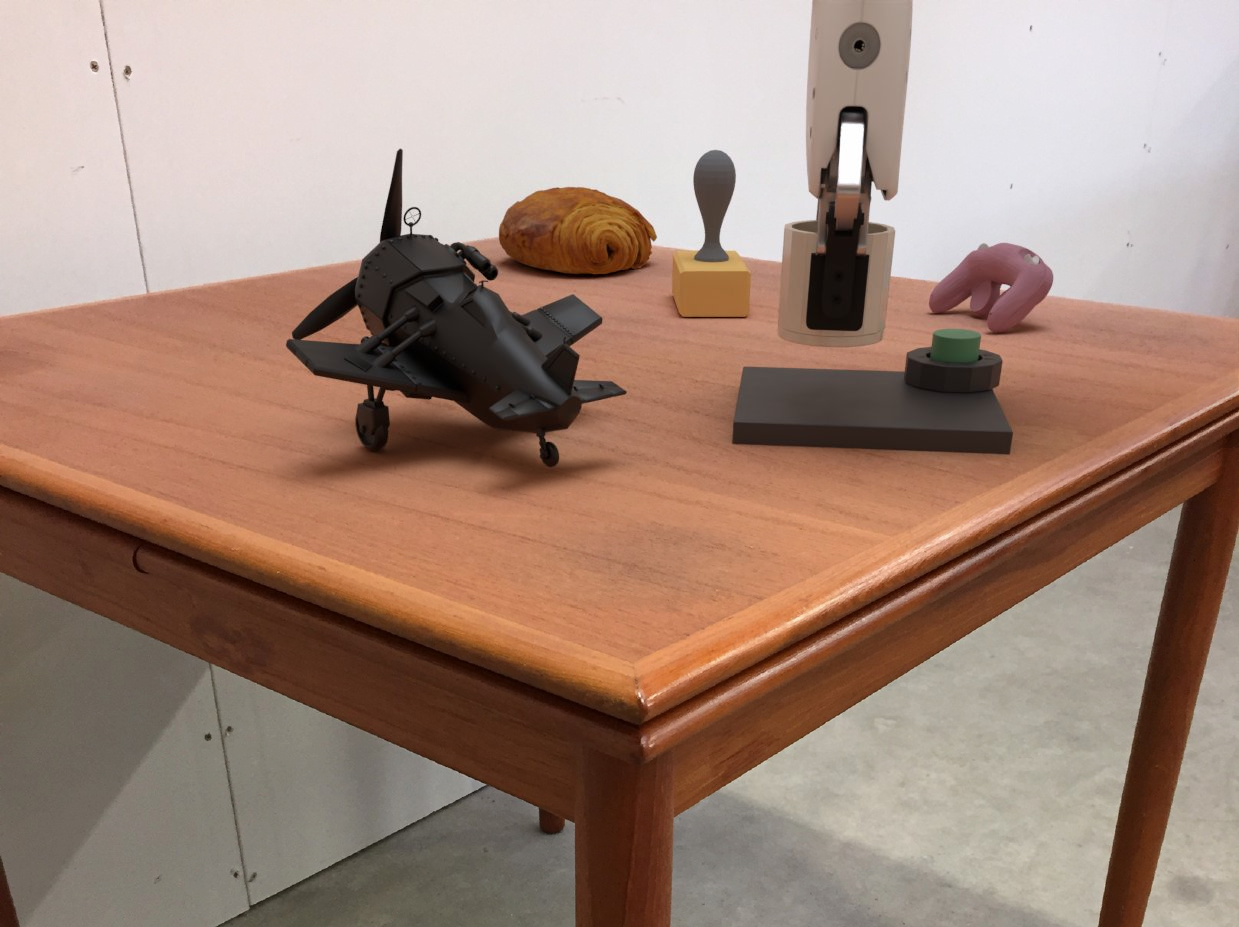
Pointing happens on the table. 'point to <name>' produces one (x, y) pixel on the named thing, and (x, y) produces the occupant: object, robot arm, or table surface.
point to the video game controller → (996, 284)
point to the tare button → (955, 345)
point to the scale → (877, 407)
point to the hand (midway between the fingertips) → (832, 314)
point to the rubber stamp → (712, 250)
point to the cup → (796, 283)
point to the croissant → (576, 232)
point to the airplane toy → (451, 338)
